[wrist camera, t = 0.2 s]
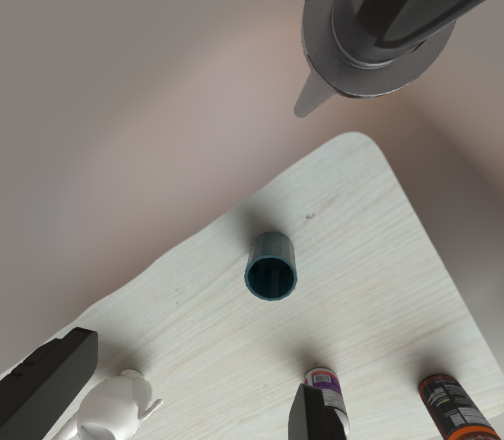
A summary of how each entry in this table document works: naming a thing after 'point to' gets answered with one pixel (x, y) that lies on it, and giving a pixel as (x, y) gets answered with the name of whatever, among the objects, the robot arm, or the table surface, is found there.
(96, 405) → the teapot
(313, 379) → the pill bottle
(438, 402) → the supplement bottle
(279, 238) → the cup
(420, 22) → the robot arm
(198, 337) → the table surface
